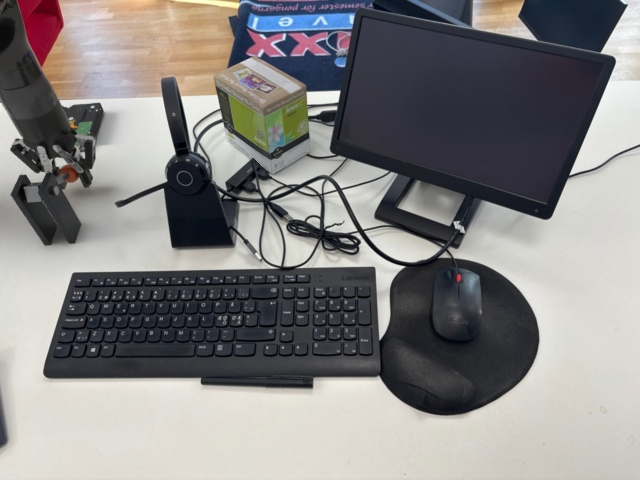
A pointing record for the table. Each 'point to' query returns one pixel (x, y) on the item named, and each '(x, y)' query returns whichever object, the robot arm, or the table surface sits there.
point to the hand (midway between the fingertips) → (75, 185)
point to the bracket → (41, 215)
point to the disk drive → (84, 119)
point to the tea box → (264, 113)
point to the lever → (65, 174)
